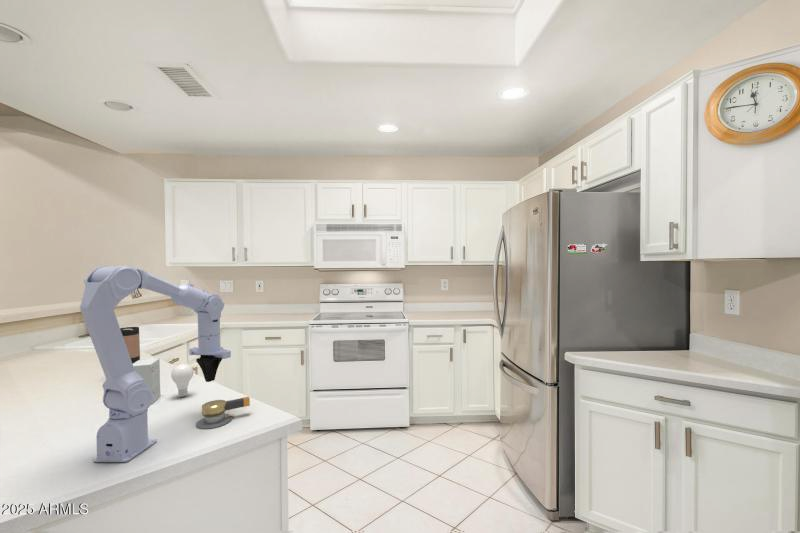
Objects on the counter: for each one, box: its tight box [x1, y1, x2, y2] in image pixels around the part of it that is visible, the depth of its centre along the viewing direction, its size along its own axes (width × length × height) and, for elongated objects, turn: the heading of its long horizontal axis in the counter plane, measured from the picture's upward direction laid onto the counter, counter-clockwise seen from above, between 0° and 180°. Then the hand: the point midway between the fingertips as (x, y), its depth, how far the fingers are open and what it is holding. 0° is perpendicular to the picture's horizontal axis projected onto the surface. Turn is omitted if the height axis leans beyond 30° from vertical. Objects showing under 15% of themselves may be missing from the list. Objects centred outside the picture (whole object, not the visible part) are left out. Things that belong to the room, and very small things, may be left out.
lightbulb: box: [170, 363, 194, 398], centre depth 118 cm, size 6×6×11 cm
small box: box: [133, 358, 161, 405], centre depth 114 cm, size 8×6×13 cm
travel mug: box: [120, 326, 141, 364], centre depth 139 cm, size 8×8×20 cm
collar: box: [201, 396, 251, 418], centre depth 99 cm, size 12×6×2 cm, turn 121°
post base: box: [195, 413, 235, 430], centre depth 98 cm, size 9×9×2 cm
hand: (210, 380), depth 103 cm, fingers closed
